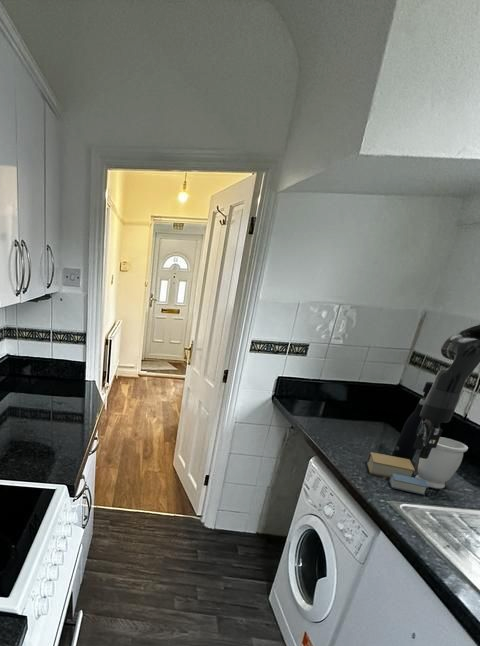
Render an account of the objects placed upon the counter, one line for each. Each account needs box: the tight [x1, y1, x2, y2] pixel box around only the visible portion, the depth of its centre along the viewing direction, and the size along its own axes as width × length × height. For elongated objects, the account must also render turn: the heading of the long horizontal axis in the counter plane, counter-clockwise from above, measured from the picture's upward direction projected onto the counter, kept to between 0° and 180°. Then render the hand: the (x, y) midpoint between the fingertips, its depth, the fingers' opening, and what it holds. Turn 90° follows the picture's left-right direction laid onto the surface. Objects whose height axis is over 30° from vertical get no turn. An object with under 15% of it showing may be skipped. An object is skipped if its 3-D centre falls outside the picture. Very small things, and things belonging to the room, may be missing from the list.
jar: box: [414, 436, 469, 489], centre depth 137 cm, size 11×10×15 cm
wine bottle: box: [391, 381, 433, 463], centre depth 150 cm, size 6×6×30 cm
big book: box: [366, 451, 416, 479], centre depth 145 cm, size 12×10×4 cm
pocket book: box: [388, 473, 429, 496], centre depth 135 cm, size 9×6×3 cm, turn 63°
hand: (419, 453), depth 131 cm, fingers open, 8 cm apart
